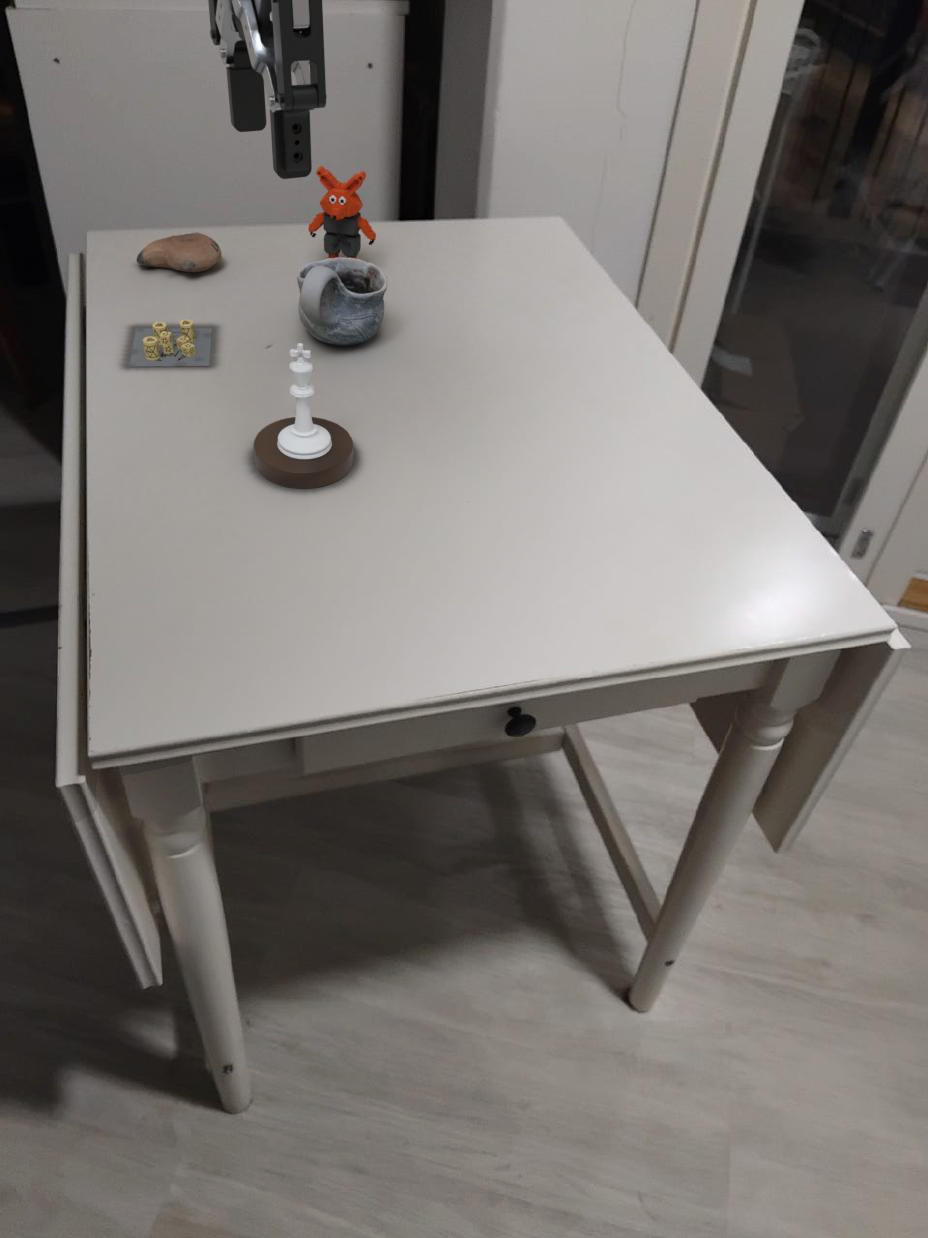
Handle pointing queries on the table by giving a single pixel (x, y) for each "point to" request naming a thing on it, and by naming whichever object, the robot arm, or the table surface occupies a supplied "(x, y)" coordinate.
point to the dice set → (171, 345)
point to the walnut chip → (303, 470)
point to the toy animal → (341, 215)
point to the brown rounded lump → (182, 252)
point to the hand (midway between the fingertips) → (270, 151)
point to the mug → (341, 300)
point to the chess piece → (303, 415)
